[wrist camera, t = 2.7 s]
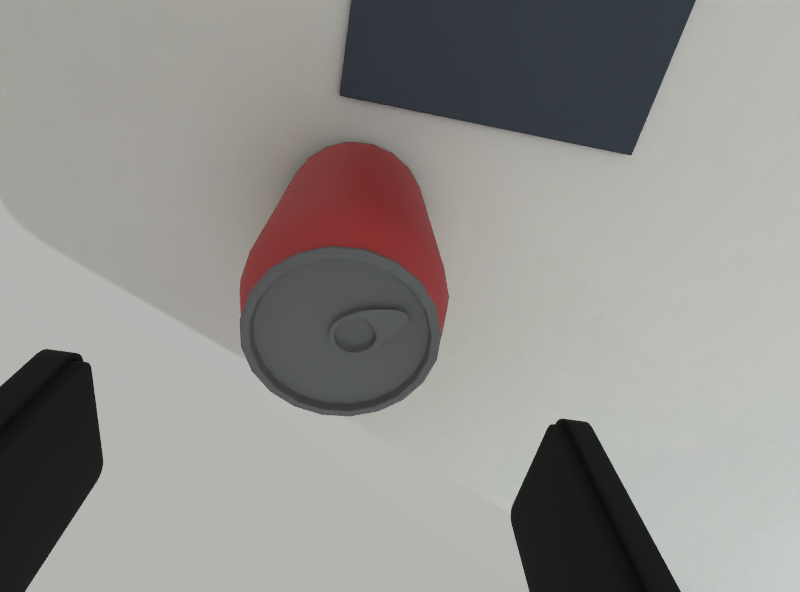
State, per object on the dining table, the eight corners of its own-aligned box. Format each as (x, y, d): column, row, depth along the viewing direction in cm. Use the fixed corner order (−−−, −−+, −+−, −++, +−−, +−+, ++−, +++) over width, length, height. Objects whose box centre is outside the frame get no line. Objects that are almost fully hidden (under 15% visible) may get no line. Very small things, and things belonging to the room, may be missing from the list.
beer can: (439, 242, 25) (487, 393, 14) (323, 284, 26) (287, 455, 15) (395, 117, 22) (413, 191, 11) (265, 169, 23) (169, 282, 12)
